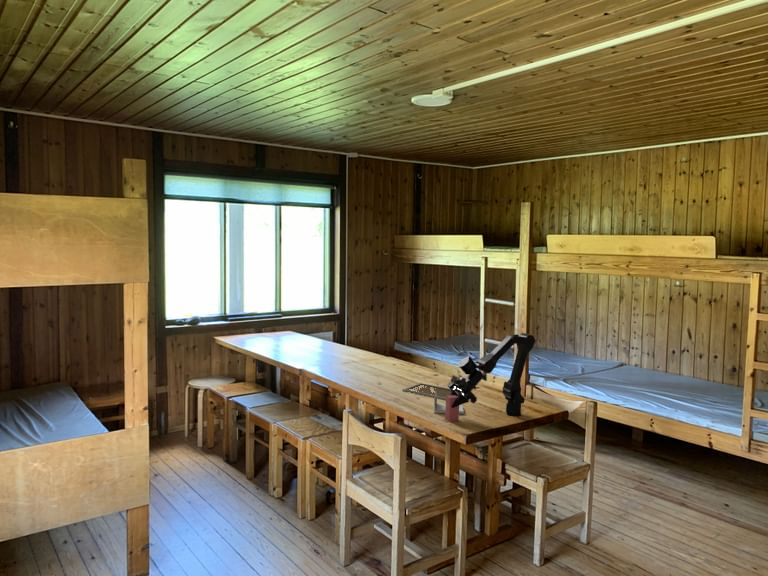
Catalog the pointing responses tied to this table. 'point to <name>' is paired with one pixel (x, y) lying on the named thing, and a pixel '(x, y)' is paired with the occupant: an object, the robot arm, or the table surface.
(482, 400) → the table surface
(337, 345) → the table surface
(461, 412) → the shelf
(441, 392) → the gray perforated panel
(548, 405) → the table surface
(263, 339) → the table surface
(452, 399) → the tall pink rectangular prism
